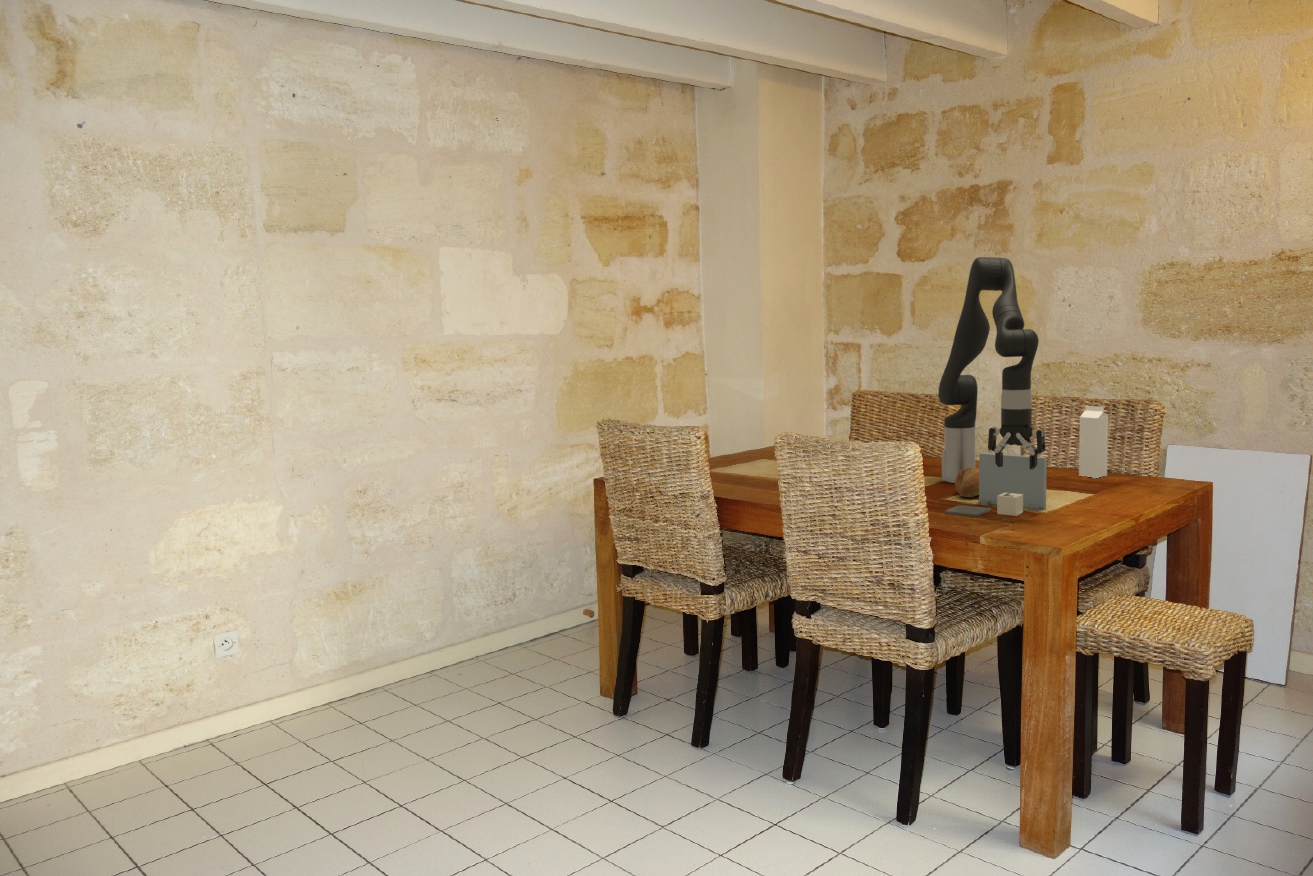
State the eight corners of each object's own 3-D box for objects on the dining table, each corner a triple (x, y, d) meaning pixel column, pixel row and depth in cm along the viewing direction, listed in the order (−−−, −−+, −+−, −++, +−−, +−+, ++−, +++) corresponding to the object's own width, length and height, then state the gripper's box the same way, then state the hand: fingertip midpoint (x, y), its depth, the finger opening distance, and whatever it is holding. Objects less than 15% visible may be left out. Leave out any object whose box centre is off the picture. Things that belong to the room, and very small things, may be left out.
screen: (975, 504, 277) (975, 454, 275) (984, 500, 281) (984, 451, 279) (1040, 511, 265) (1041, 459, 263) (1048, 507, 270) (1049, 456, 268)
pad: (944, 513, 268) (944, 510, 268) (959, 507, 274) (958, 504, 274) (977, 516, 262) (977, 514, 262) (990, 510, 269) (990, 508, 268)
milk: (1096, 478, 306) (1098, 407, 302) (1078, 476, 310) (1079, 406, 307) (1107, 476, 309) (1108, 405, 306) (1088, 473, 314) (1090, 404, 311)
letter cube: (997, 514, 264) (997, 495, 264) (1004, 510, 268) (1004, 492, 267) (1015, 516, 261) (1016, 497, 260) (1022, 512, 265) (1023, 493, 264)
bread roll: (948, 498, 286) (948, 471, 285) (964, 489, 299) (964, 463, 297) (982, 501, 281) (982, 473, 280) (997, 491, 293) (997, 465, 292)
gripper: (983, 407, 260) (984, 468, 262) (1038, 408, 251) (1038, 472, 253) (995, 404, 266) (995, 464, 268) (1049, 405, 256) (1048, 467, 258)
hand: (1016, 467), depth 260 cm, fingers open, 8 cm apart
